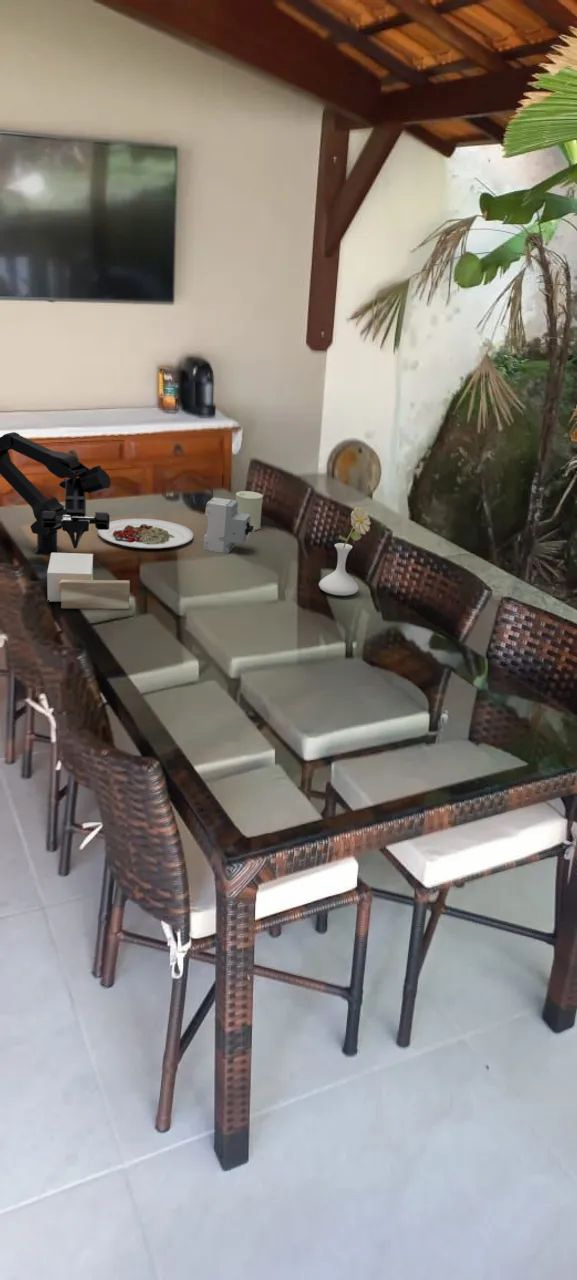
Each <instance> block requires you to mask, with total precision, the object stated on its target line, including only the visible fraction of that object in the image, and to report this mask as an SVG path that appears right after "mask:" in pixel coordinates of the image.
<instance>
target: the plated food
mask: <svg viewBox="0 0 577 1280" xmlns="http://www.w3.org/2000/svg"><path fill="white" fill-rule="evenodd" d="M97 534H98V535H99V536H100V537H101V539H103V540H105V541H108V542H110V543H113V544H116V545H121V546H123V547H129V548H134V549H150V550H151V549H152V550H153V549H165V548H166V549H167V548H174V547H178V546H183V545H185V544H188V543H189V542H191V541H192V540H193V538H194V533H193V531H192V530H191V529H190V528H188V527H187V526H184V525H183V524H179V523H176V522H171V521H168V520H164V519H163V520H162V519H153V518H123V519H122V518H121V519H118V520H117V519H116V520H112V521H111V520H110V521H109V529H108V530H98V529H97Z"/></svg>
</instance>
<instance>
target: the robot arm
mask: <svg viewBox="0 0 577 1280" xmlns="http://www.w3.org/2000/svg"><path fill="white" fill-rule="evenodd" d="M10 450H12V451H14V452H17V453H19V454H21V455H23V456H25V457H27V458H29V459H32V461H33V460H34V461H36V462H38V463H39V464H41V465H43V466H44V467H45V468H46V469H47V470H48V471H49V472H50V473H51V474H53V475H54V476H55V477H57V478H58V479H63V480H62V481H60V483H59V485H58V486H60V487H61V488H62V489H64V491H65V493H64V494H65V495H64V497H65V499H64V501H65V503H64V505H63V504H62V503H61V502H59V500H58V499H57V498H56V497H54V496H53V497H52V498H48V497H46V496H44V495H43V494H42V492H40V490H39V489H38V488H37V487H36V486H35V485H34V484H33V483H32V482H31V481H30V480H29V479H28V478H27V477H26V475H25V474H24V473H23V472H22V471H21V470H20V469H19V467H17V466H16V465H15V464H14V462H12V460H11V456H10V452H9V451H10ZM0 476H1V477H2V478H3V479H4V480H5V481H6V483H8V484H9V485H10V486H11V488H13V490H14V491H15V492H16V493H17V494H18V495H19V496H20V497H21V498H22V499H23V500H24V501H25V502H26V503H27V505H29V506H30V508H31V510H32V513H33V516H34V517H33V518H35V521H34V522H33V523H32V524H31V525H30V529H31V534H36V540H37V541H36V543H37V544H36V546H35V554H36V555H38V554H39V555H51V553H60V551H59V550H60V546H59V545H58V530H62V531H64V532H67V535H68V536H69V538H70V541H71V544H72V547H73V549H78V547H79V544H80V541H81V538H82V536H84V535H83V534H84V533H86V532H89V530H90V529H89V528H90V525H94V527H95V529H97V531H98V530H108V529H109V522H111V520H110V514H109V513H108V512H98V511H97V512H95V515H94V516H87V493H88V494H90V495H93V494H96V493H99V492H103V491H104V490H107V489H109V488H110V487H111V478H110V476H109V474H108V473H107V472H106V471H105V469H102V467H101V465H100V464H98V465H96V466H94V467H92V468H89V467H87V466H86V465H85V464H83V463H82V462H81V461H79V458H78V457H77V456H76V455H74V454H71V453H67V452H64V451H55V450H52V449H50V448H47V447H45V446H43V445H41V444H39V443H37V442H35V441H32V439H28V438H26V437H24V436H22V435H21V434H19V433H18V432H15V431H11V432H8V433H4V434H3V435H2V436H0ZM75 533H76V534H75Z"/></svg>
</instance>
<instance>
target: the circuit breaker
mask: <svg viewBox="0 0 577 1280" xmlns="http://www.w3.org/2000/svg"><path fill="white" fill-rule="evenodd" d="M237 507H238V501H236V499H228V498H221V497H212V498H211V499H210V500H209V501H207V502H206V506H205V513H204V515H205V517H207V526H206V529H207V530H206V533H205V534H204V535H203V549H202V550H204V551H205V550H206V551H208V552H209V551H210V552H216V553H221V554H222V553H223V554H229V553H230V552H231V551H232V550H233V549H234V548H235V547H236V546H235V545H236V544H240V545H243V544H244V543H245V542H246V541H247V540H248V539H250V533H252V532H251V531H252V530H253V527H254V526H250V518H251V515H250V514H244V513H237ZM234 546H235V547H234Z"/></svg>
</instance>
